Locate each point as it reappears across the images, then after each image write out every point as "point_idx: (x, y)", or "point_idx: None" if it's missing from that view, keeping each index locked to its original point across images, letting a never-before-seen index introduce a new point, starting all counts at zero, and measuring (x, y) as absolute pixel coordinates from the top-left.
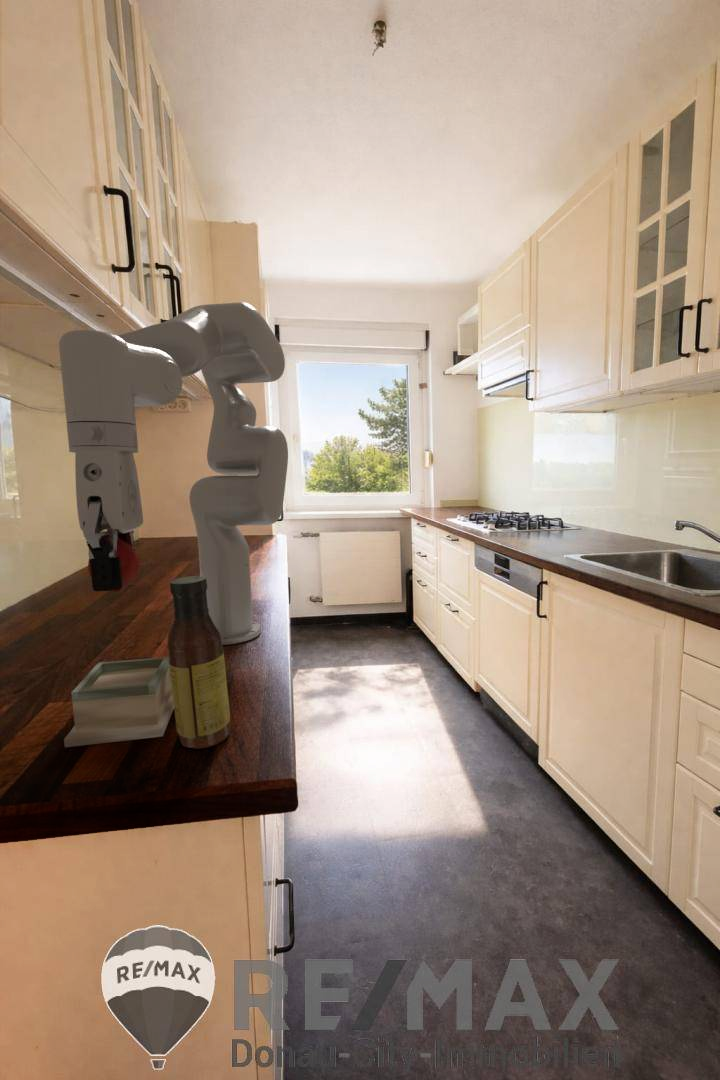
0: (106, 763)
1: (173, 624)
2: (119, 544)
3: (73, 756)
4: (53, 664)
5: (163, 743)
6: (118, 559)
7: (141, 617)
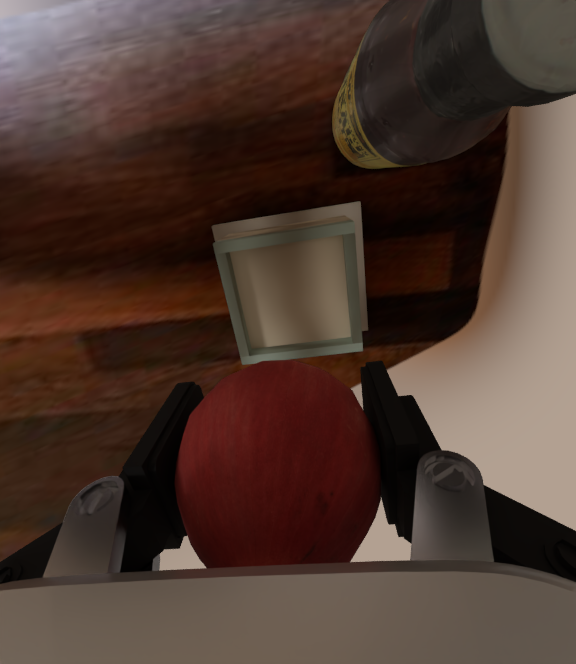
0: (415, 255)
1: (457, 133)
2: (314, 518)
3: (389, 305)
4: (130, 451)
5: (378, 192)
6: (416, 437)
7: None
